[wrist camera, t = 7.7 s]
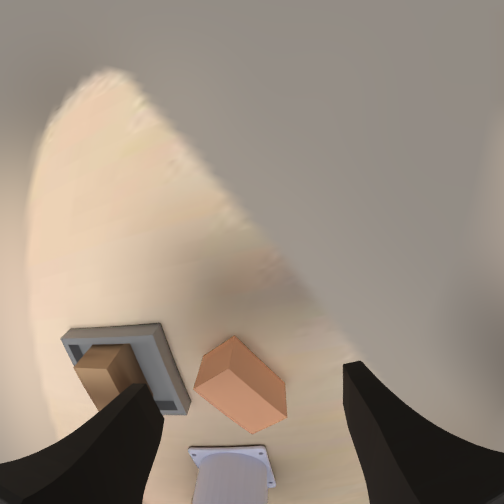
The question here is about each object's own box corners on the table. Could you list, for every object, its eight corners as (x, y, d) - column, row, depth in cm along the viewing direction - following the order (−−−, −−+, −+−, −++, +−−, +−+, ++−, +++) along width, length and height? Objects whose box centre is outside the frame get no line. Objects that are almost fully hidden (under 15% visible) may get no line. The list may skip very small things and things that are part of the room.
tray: (190, 401, 23) (186, 415, 21) (106, 398, 24) (99, 409, 22) (160, 322, 21) (152, 334, 19) (70, 328, 22) (60, 338, 20)
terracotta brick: (284, 382, 22) (287, 417, 18) (254, 399, 23) (252, 434, 19) (234, 334, 21) (228, 368, 17) (203, 355, 22) (193, 389, 18)
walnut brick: (153, 395, 22) (139, 427, 19) (123, 394, 23) (107, 423, 19) (127, 338, 21) (106, 369, 17) (96, 339, 21) (73, 367, 17)
